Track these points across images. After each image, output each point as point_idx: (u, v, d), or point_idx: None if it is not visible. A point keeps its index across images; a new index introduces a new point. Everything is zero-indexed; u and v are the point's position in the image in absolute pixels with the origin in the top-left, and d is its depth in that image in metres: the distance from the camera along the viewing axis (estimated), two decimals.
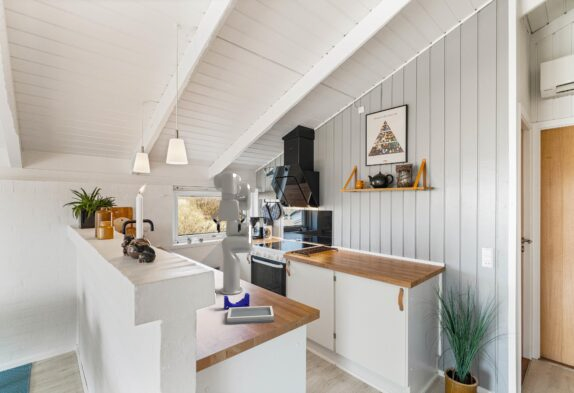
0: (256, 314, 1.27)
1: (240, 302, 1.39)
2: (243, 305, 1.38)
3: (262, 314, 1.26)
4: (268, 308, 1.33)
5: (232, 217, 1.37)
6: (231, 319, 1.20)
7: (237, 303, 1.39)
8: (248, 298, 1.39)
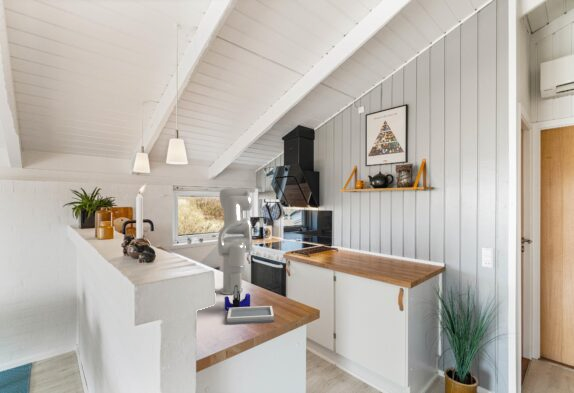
0: (256, 314, 1.27)
1: (241, 303, 1.38)
2: (244, 306, 1.37)
3: (262, 314, 1.26)
4: (268, 308, 1.33)
5: None
6: (231, 319, 1.20)
7: None
8: (249, 299, 1.38)
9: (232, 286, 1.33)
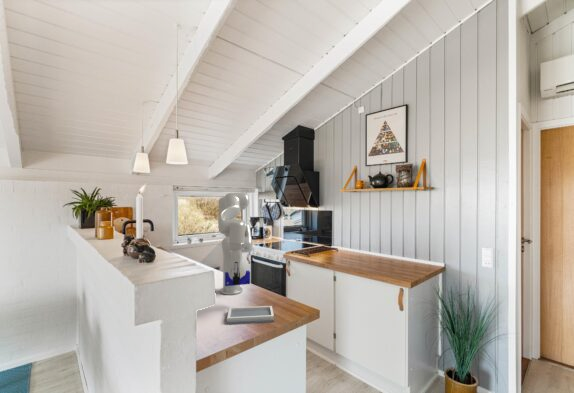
0: (256, 314, 1.27)
1: (241, 279, 1.40)
2: (243, 282, 1.39)
3: (262, 314, 1.26)
4: (268, 308, 1.33)
5: None
6: (231, 319, 1.20)
7: None
8: (249, 275, 1.39)
9: (232, 262, 1.34)
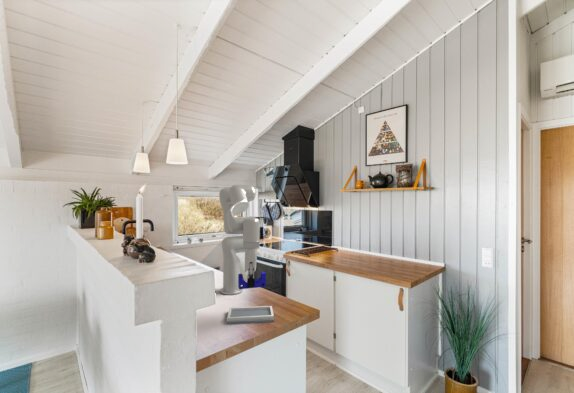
0: (256, 314, 1.27)
1: (256, 281, 1.28)
2: (259, 284, 1.26)
3: (262, 314, 1.26)
4: (268, 308, 1.33)
5: None
6: (231, 319, 1.20)
7: None
8: (264, 277, 1.27)
9: (247, 263, 1.22)
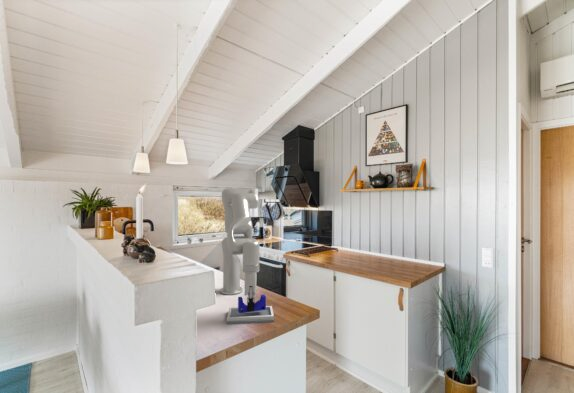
0: (256, 314, 1.27)
1: (256, 304, 1.27)
2: (259, 308, 1.26)
3: (262, 314, 1.26)
4: (268, 308, 1.33)
5: None
6: (231, 319, 1.20)
7: None
8: (264, 300, 1.26)
9: (246, 287, 1.22)
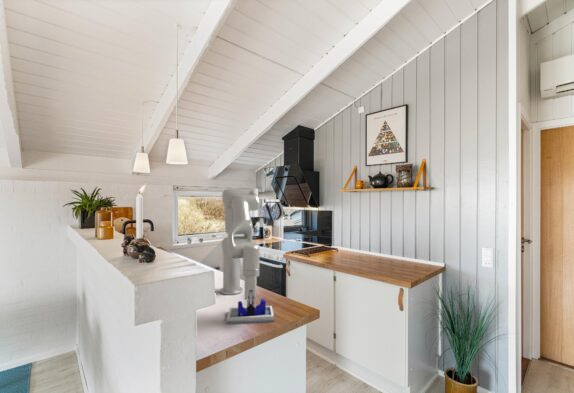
0: None
1: (255, 309, 1.28)
2: (258, 312, 1.26)
3: None
4: (268, 308, 1.33)
5: None
6: (231, 319, 1.20)
7: None
8: (264, 305, 1.26)
9: (246, 291, 1.22)
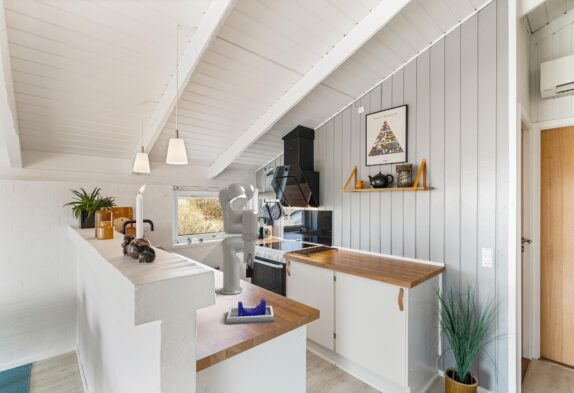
0: None
1: (255, 309, 1.27)
2: (259, 312, 1.25)
3: None
4: (268, 308, 1.33)
5: None
6: (231, 319, 1.20)
7: (252, 310, 1.27)
8: (264, 305, 1.26)
9: (245, 254, 1.23)
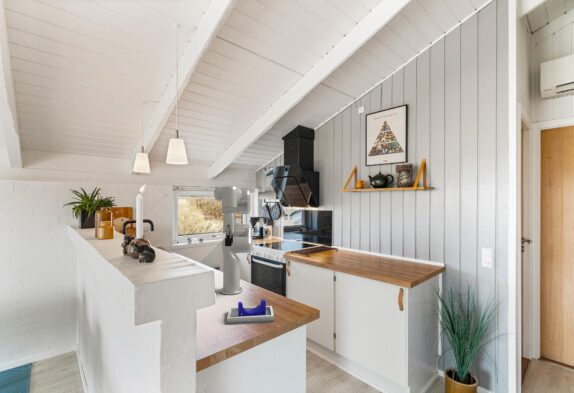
0: None
1: (256, 309, 1.27)
2: (259, 313, 1.25)
3: None
4: (268, 308, 1.33)
5: None
6: (231, 319, 1.20)
7: (252, 310, 1.27)
8: (264, 305, 1.26)
9: (224, 225, 1.36)
